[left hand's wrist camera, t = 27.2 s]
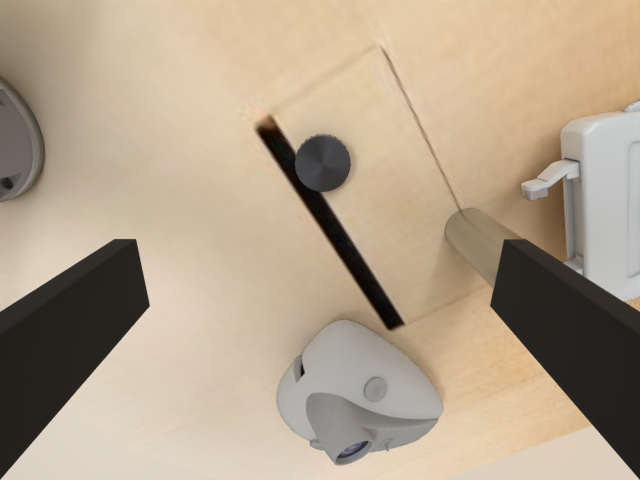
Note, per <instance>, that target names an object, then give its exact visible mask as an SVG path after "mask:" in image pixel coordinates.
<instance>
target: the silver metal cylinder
mask: <svg viewBox="0 0 640 480" xmlns="http://www.w3.org/2000/svg"><path fill="white" fill-rule="evenodd" d="M445 236H446V239H447V241H448V242H449V243H450V244H451V245H452V247H453V248H454V249H455V250H456V251H457V252H458V253H459V254H460V255H461V256H462V257H463V258H464V259H465V260H466V261H467V262H468V263H469V264H470V265H471V266H472V267H473V268H474V269H475V270H476V272H477V273H478V274H479V275H480V276H481V277H482V278H483V279H484V280H485V281H486V282H487V283H488V284H489V285H490V286H491V287H492V288H493V289H494V285H495V280H496V275H497V271H498V266H499V261H500V256H501V251H502V246H503V242H504V239H524V238H522V237H520V236H519V235H517V234H516V233H514V232H513V231H511V230H509V229H508V228H506V227H505V226H503V225H502V224H500V223H499V222H497V221H495V220H494V219H492V218H491V217H489V216H488V215H486V214H484V213H483V212H481V211H480V210H477V209H473V208H468V209H463V210H460V211H458V212H456V213H455V214H454V215H453V216H452V217H451V218H450V219H449V221H448V222H447V224H446V228H445Z"/></svg>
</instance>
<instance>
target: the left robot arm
mask: <svg viewBox="0 0 640 480" xmlns="http://www.w3.org/2000/svg"><path fill="white" fill-rule="evenodd" d="M43 156H44V151H43V142H42V137H41V133H40V130H39V127H38V124H37V122H36V120H35V118H34V116H33V114H32V112H31V110H30V109H29V107H28V106H27V104H26V103H25V102H24V100H23V99H22V98H21V96H20V95H19V94H18V93H17V92H16V91H15V90H14V89H13V88H12V87H11V86H10V85H9V84H8V83H7V82H6V81H5V80H3V79H2V78H1V77H0V202H1V201H5V200H8V199H12V198H15V197H17V196H20V195H21V194H23V193H25V192H26V191H27V190H29V189H30V188H31V187H32V186H33V184H34V183H35V182H36V180H37V178H38V177H39V174H40V172H41V169H42V165H43ZM149 306H150V304H149V299H148V295H147V290H146V285H145V280H144V275H143V271H142V266H141V261H140V256H139V251H138V246H137V242H136V239H114V240H112V241H111V242H109V243H108V244H106V245H105V246H103V247H101V248H100V249H98V250H97V251H95V252H94V253H92V254H90V255H89V256H87V257H86V258H84V259H83V260H81V261H79V262H78V263H76V264H75V265H73V266H72V267H70V268H68V269H67V270H65V271H64V272H62V273H61V274H59V275H57V276H56V277H54V278H53V279H51V280H50V281H48V282H46V283H45V284H43V285H42V286H40V287H39V288H37V289H35V290H34V291H32V292H31V293H29V294H28V295H26V296H24V297H23V298H21V299H20V300H18V301H17V302H15V303H13V304H12V305H10V306H9V307H7V308H6V309H4V310H2V311H1V312H0V479H1V478H2V477H3V476H4V475H5V474H6V472H7V471H8V470H9V469H10V468H11V467H12V465H13V464H14V463H15V462H16V461H17V460H18V458H19V457H20V456H21V455H22V454H23V453H24V451H25V450H26V449H27V448H28V447H29V446H30V444H31V443H32V442H33V441H34V440H35V439H36V438H37V436H38V435H39V434H40V433H41V432H42V431H43V429H44V428H45V427H46V426H47V425H48V424H49V422H50V421H51V420H52V419H53V418H54V417H55V415H56V414H57V413H58V412H59V411H60V410H61V409H62V407H63V406H64V405H65V404H66V403H67V402H68V400H69V399H70V398H71V397H72V396H73V395H74V393H75V392H76V391H77V390H78V389H79V388H80V386H81V385H82V384H83V383H84V382H85V381H86V379H87V378H88V377H89V376H90V375H91V374H92V373H93V371H94V370H95V369H96V368H97V367H98V366H99V364H100V363H101V362H102V361H103V360H104V359H105V357H106V356H107V355H108V354H109V353H110V352H111V350H112V349H113V348H114V347H115V346H116V345H117V344H118V342H119V341H120V340H121V339H122V338H123V337H124V335H125V334H126V333H127V332H128V331H129V330H130V328H131V327H132V326H133V325H134V324H135V323H136V321H137V320H138V319H139V318H140V317H141V316H142V314H143V313H144V312H145V311H146V310H147V309H148V308H149ZM490 306H491V308H492V309H493V310H494V311H495V312H496V313H497V314H498V316H499V317H500V318H501V319H502V320H503V321H504V323H505V324H506V325H507V326H508V327H509V328H510V330H511V331H512V332H513V333H514V334H515V335H516V337H517V338H518V339H519V340H520V341H521V342H522V344H523V345H524V346H525V347H526V348H527V349H528V350H529V352H530V353H531V354H532V355H533V356H534V357H535V359H536V360H537V361H538V362H539V363H540V364H541V366H542V367H543V368H544V369H545V370H546V371H547V373H548V374H549V375H550V376H551V377H552V378H553V379H554V381H555V382H556V383H557V384H558V385H559V386H560V388H561V389H562V390H563V391H564V392H565V393H566V395H567V396H568V397H569V398H570V399H571V400H572V402H573V403H574V404H575V405H576V406H577V407H578V409H579V410H580V411H581V412H582V413H583V414H584V415H585V417H586V418H587V419H588V420H589V421H590V422H591V424H592V425H593V426H594V427H595V428H596V429H597V430H598V432H599V433H600V434H601V435H602V436H603V437H604V439H605V440H606V441H607V442H608V443H609V444H610V446H611V447H612V448H613V449H614V450H615V451H616V453H617V454H618V455H619V456H620V457H621V458H622V460H623V461H624V462H625V463H626V464H627V465H628V467H629V468H630V469H631V470H632V471H633V472H634V473H635V475H636V476H637V477H638V478H639V479H640V312H639V311H638V310H636V309H634V308H633V307H631V306H630V305H628V304H627V303H625V302H623V301H622V300H620V299H619V298H617V297H616V296H614V295H612V294H611V293H609V292H608V291H606V290H605V289H603V288H601V287H600V286H598V285H597V284H595V283H594V282H592V281H590V280H589V279H587V278H586V277H584V276H583V275H581V274H579V273H578V272H576V271H575V270H573V269H572V268H570V267H568V266H567V265H565V264H564V263H562V262H561V261H559V260H557V259H556V258H554V257H553V256H551V255H550V254H548V253H546V252H545V251H543V250H542V249H540V248H539V247H537V246H535V245H534V244H532V243H531V242H529V241H528V240H526V239H504V242H503V246H502V251H501V256H500V261H499V266H498V271H497V275H496V280H495V285H494V290H493V295H492V299H491V304H490Z"/></svg>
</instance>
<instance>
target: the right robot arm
mask: <svg viewBox="0 0 640 480" xmlns="http://www.w3.org/2000/svg"><path fill="white" fill-rule="evenodd" d="M560 139H561V156H562V160H560V161H557V162H553V163H552V164H550V165H549V166H548V167H547V168H546V169H545V170H544V171H543V172H542V173H541V174H540V175H539V176H538V177H537V179H533V180H530V181H526V182H523V183H521V192H522V198H526V200H536V199H538V198H539V197H540V198H543V197H547V196H548V188H549V187H551V186H552V185H553V184H554V183H556V182H557V181H558V180H560V179H561V178H563V193H564V212H565V231H566V249H567V262H564V264H565V265H567V266H568V267H570V268H572V269H573V270H575V271H576V272H578V273H579V274H581V275H583V276H584V277H586V278H587V279H589V280H590V281H592V282H594V283H595V284H597V285H598V286H600V287H601V288H603V289H605V290H606V291H608V292H609V293H611V294H612V295H614V296H616V297H617V298H619V299H620V300H622V301H623V302H625V301H628V300H632V299H635V298H638V297H640V99H638V100H636V101H633V102H631V103H630V104H628V105H627V106H626V107H625V108H624V109H623V111H615V112H607V113H601V114H595V115H590V116H585V117H581V118H577V119H574V120H571V121H570V122H569V123H568V124H567V125H566V126H565V127H564V128H563V129H562V130H561V133H560Z"/></svg>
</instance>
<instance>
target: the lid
mask: <svg viewBox="0 0 640 480" xmlns="http://www.w3.org/2000/svg"><path fill="white" fill-rule="evenodd" d="M348 153H349V152H348V151H347V150H346V147H345V145H343V144H342V142H341V141H339V140H338V139H337V138H336V137H333V136H330V135H324V134H321V135H318V134H317V135H315V136H313V137H312V136H311V137H310V138H309V139H306V141H305V142H304V143H303V144H301V147H300V149H298V152H297V154H296V156H295V157H296V159H295V170H296V173H297V176H298V177H299V179H300V181H301V182H302V183H303V184H304V185H305V186H307V187H308V188H310V189H312V190H314V191H319V192H326V191H331V190H333V189H335V188H337V187H339V186H340V185H341V184H342V183H343V182H344V181H345V179H346V178H347V176H348V173H349V170H350V166H351V164H350V157H349V154H348Z"/></svg>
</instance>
